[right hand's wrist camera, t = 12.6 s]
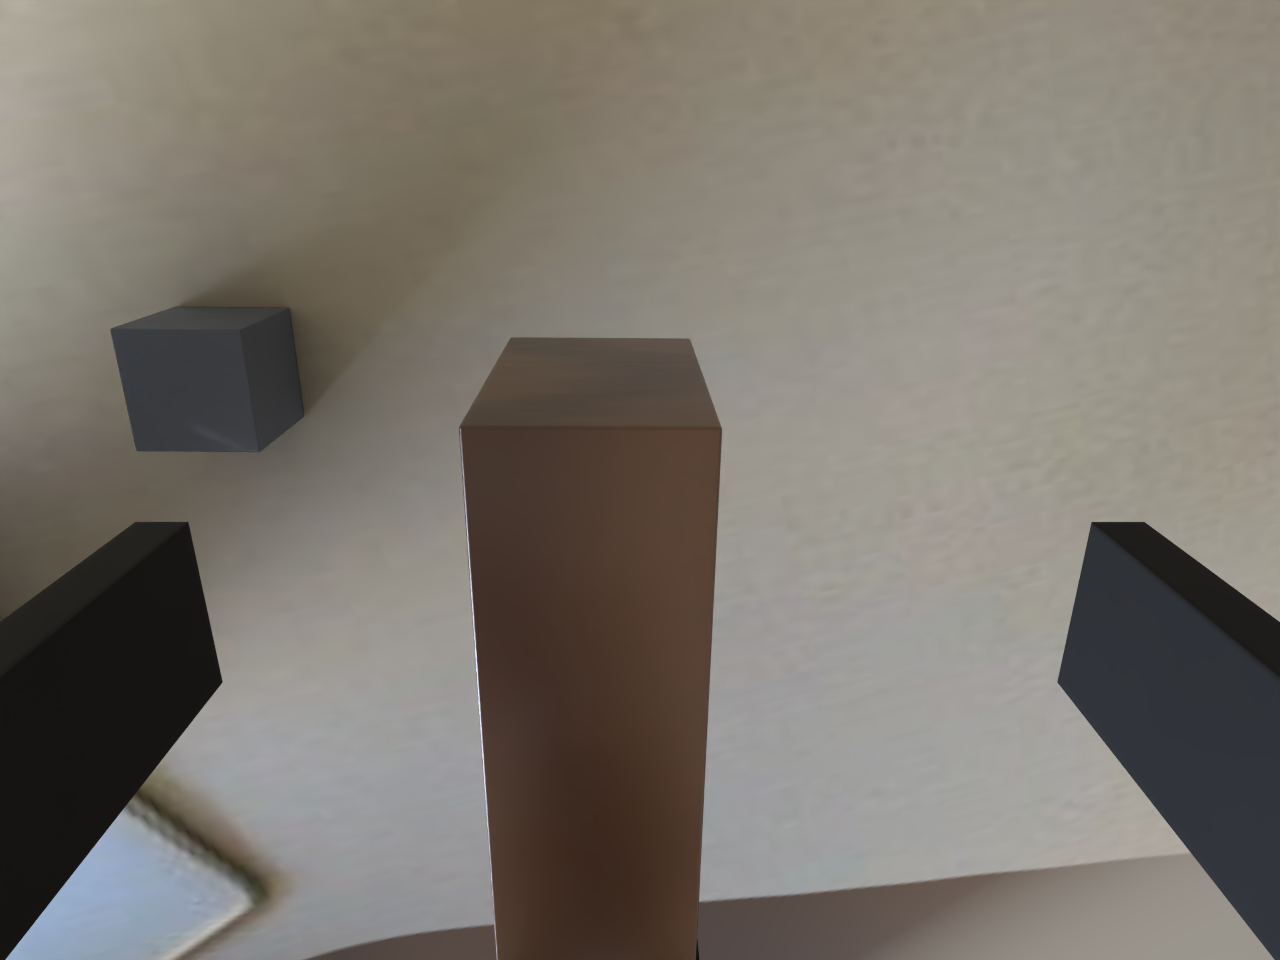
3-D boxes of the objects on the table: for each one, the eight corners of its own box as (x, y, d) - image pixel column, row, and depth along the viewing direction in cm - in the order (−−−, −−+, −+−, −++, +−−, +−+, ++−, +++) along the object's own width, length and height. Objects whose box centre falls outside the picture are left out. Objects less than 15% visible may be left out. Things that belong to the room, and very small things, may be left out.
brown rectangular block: (690, 338, 23) (722, 427, 16) (669, 960, 32) (684, 1203, 25) (509, 336, 23) (458, 425, 16) (538, 961, 32) (513, 1206, 25)
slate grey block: (289, 307, 37) (240, 329, 32) (304, 416, 39) (260, 452, 34) (175, 306, 37) (109, 328, 32) (195, 415, 39) (136, 451, 34)
